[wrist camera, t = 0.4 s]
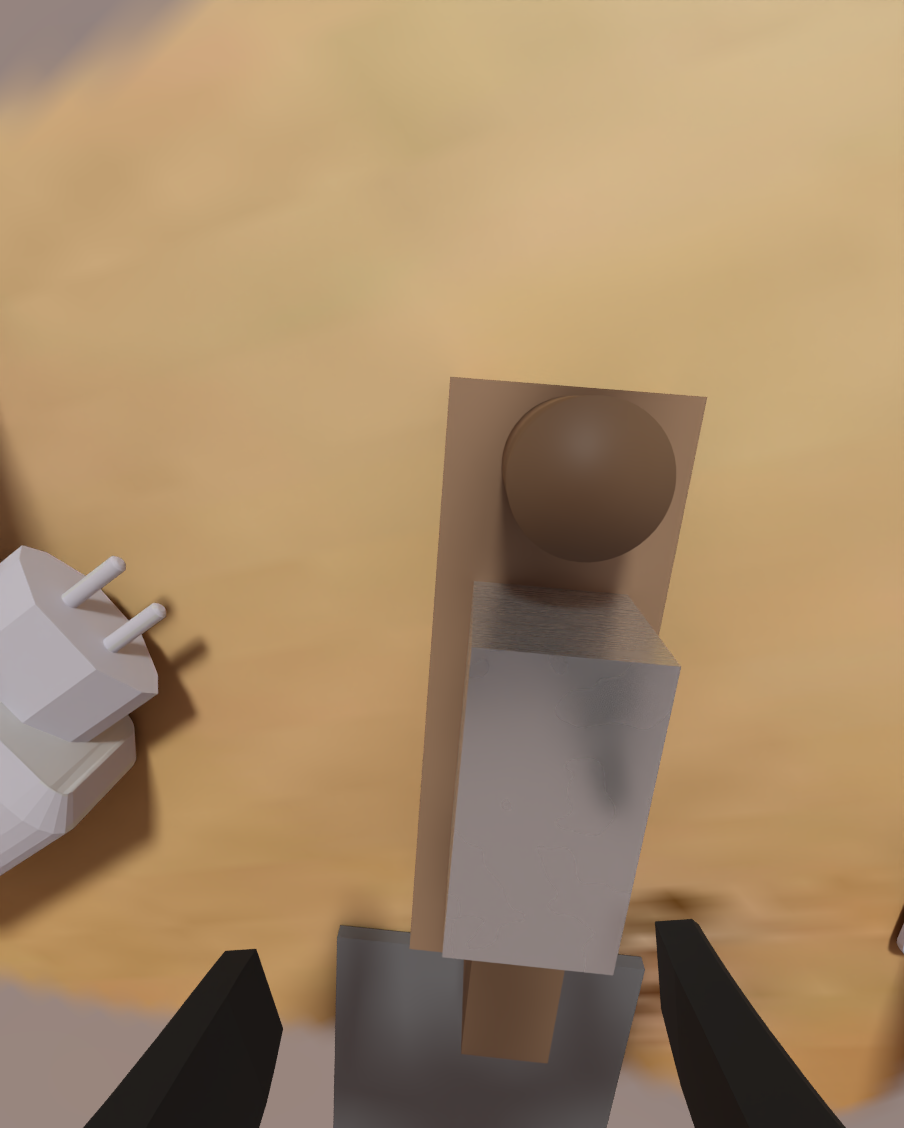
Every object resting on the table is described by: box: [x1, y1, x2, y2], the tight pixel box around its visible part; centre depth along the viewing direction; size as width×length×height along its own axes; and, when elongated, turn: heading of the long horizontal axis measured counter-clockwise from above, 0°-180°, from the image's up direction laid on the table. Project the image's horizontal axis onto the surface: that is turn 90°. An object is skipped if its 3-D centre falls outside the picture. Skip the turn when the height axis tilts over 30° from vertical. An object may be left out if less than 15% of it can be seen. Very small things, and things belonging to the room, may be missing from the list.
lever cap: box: [442, 581, 681, 975], centre depth 14 cm, size 4×8×4 cm, turn 176°
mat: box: [333, 925, 645, 1128], centre depth 23 cm, size 12×12×1 cm
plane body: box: [410, 377, 707, 1064], centre depth 16 cm, size 6×18×6 cm, turn 176°
